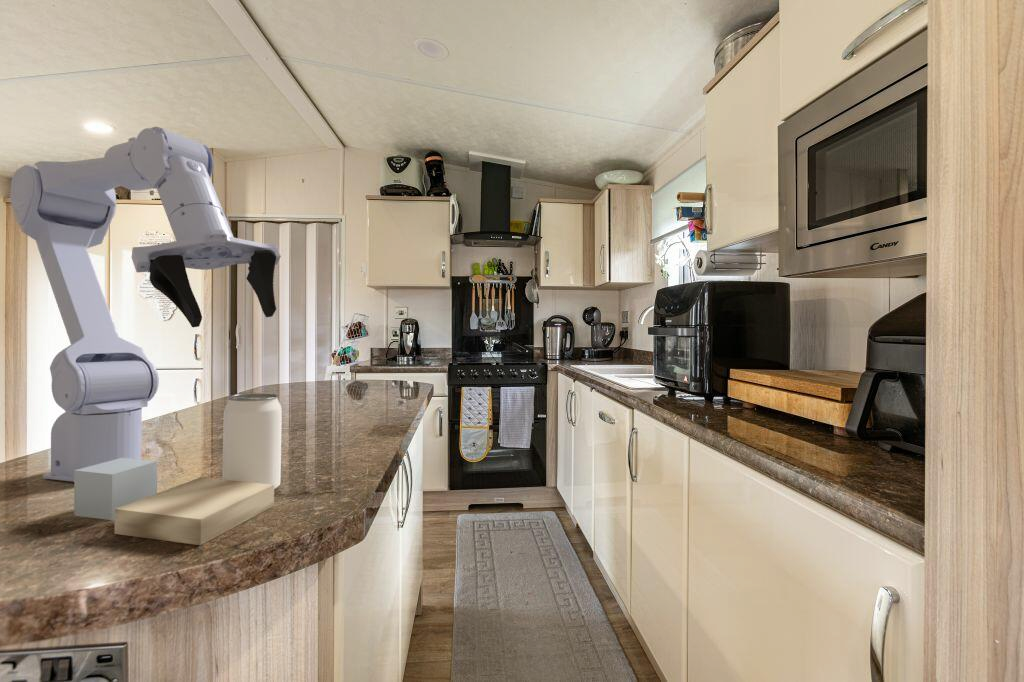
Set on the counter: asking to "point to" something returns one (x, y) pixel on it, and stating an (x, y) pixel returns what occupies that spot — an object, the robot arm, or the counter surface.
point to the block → (112, 486)
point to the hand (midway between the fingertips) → (236, 317)
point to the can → (252, 439)
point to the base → (194, 510)
